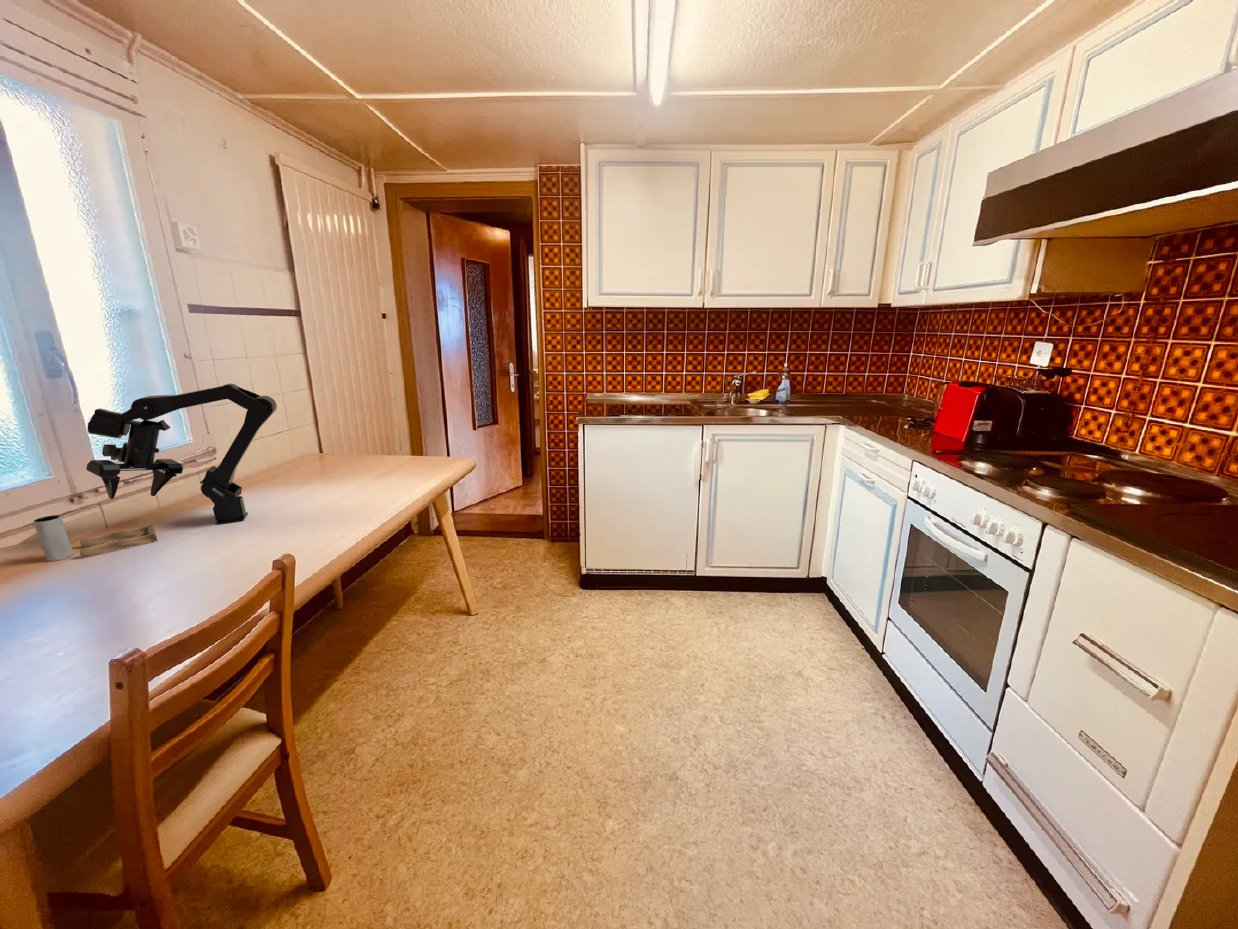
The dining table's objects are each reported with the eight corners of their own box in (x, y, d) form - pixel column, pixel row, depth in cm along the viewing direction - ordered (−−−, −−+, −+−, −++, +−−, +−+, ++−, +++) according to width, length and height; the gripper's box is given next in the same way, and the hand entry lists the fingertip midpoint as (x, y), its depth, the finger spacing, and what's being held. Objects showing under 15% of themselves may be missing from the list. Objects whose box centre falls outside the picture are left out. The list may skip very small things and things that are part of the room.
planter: (55, 562, 121) (42, 522, 118) (41, 560, 122) (27, 521, 119) (78, 554, 125) (66, 515, 123) (64, 552, 126) (52, 514, 124)
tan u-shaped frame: (154, 531, 139) (152, 524, 139) (157, 541, 133) (155, 534, 132) (81, 547, 130) (79, 539, 129) (81, 558, 123) (79, 551, 122)
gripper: (163, 434, 146) (153, 485, 148) (78, 432, 128) (68, 490, 130) (189, 446, 143) (178, 497, 145) (105, 445, 125) (95, 504, 127)
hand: (132, 497), depth 136 cm, fingers open, 9 cm apart
